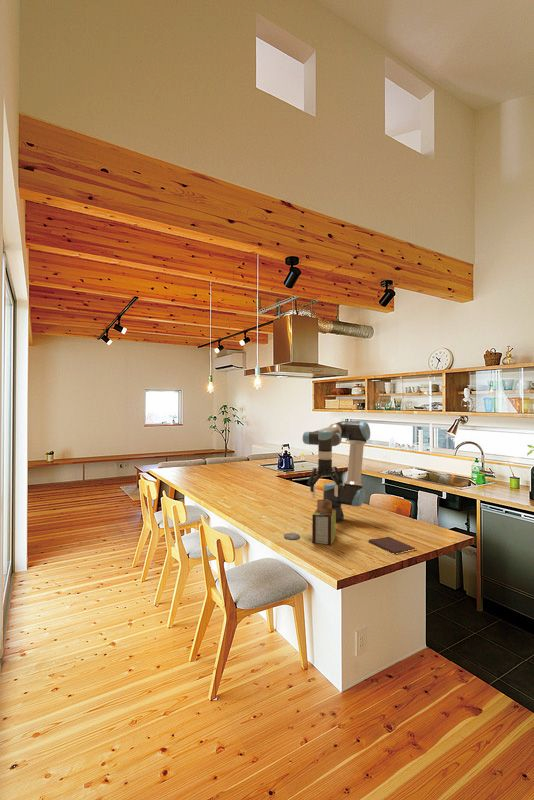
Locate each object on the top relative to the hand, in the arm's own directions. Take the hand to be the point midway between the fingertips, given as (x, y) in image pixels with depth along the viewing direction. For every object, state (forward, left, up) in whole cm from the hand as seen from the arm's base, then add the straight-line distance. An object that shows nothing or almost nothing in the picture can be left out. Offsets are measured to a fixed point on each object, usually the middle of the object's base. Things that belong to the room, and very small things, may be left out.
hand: (324, 497), depth 219 cm
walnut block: (0, 0, -8) cm, 8 cm away
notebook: (-31, +18, -24) cm, 43 cm away
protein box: (0, 0, -24) cm, 24 cm away
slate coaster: (+16, -8, -23) cm, 30 cm away
